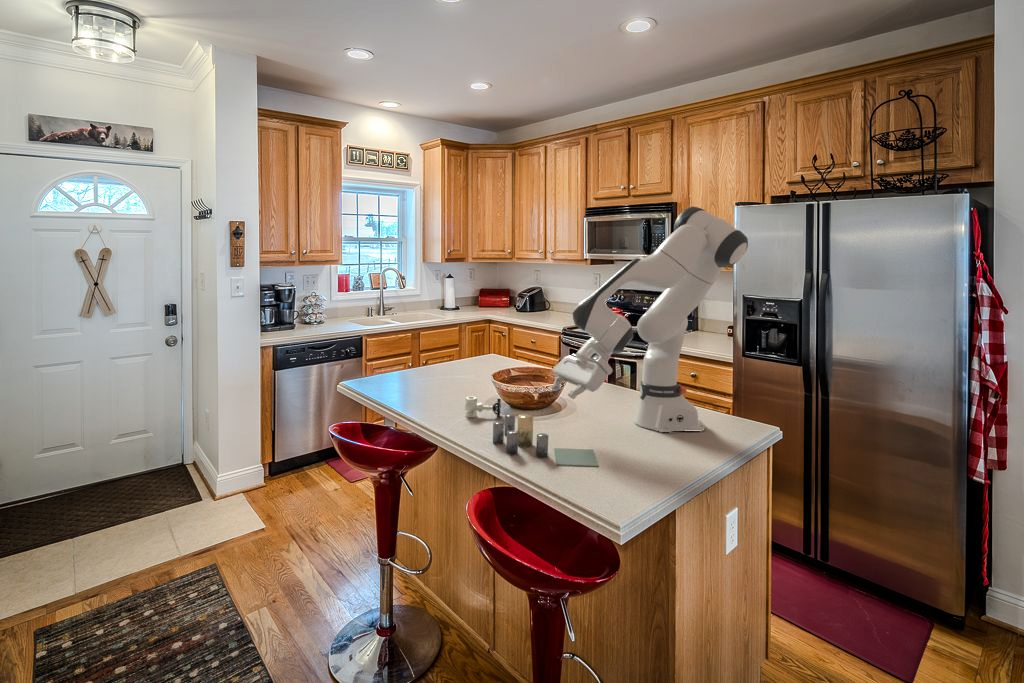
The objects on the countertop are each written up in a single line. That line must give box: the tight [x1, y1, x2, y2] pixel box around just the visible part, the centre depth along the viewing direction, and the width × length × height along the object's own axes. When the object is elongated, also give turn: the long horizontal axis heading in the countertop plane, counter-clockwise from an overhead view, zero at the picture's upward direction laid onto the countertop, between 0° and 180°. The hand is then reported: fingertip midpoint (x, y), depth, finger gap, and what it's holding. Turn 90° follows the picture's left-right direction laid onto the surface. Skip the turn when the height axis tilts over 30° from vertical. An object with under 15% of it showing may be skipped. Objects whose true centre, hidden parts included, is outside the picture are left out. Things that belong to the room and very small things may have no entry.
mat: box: [553, 447, 599, 468], centre depth 148 cm, size 11×12×1 cm
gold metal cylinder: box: [516, 413, 534, 448], centre depth 156 cm, size 4×4×8 cm
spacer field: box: [492, 413, 549, 459], centre depth 155 cm, size 10×23×6 cm, turn 27°
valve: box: [464, 396, 502, 418], centre depth 183 cm, size 7×7×12 cm
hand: (561, 393), depth 160 cm, fingers open, 8 cm apart
